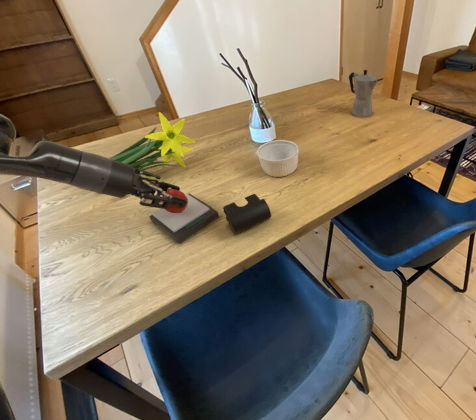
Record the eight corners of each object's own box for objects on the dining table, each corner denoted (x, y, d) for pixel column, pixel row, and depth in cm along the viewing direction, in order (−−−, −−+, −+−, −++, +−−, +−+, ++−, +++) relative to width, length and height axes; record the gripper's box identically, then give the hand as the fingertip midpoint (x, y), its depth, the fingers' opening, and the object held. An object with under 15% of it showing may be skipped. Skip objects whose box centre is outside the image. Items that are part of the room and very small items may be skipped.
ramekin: (270, 155, 98) (267, 137, 93) (305, 160, 95) (304, 142, 91) (253, 176, 88) (249, 157, 84) (292, 182, 86) (290, 163, 81)
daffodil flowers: (101, 172, 93) (196, 125, 97) (117, 208, 90) (214, 159, 94) (54, 151, 76) (171, 96, 80) (72, 195, 74) (192, 136, 78)
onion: (172, 223, 69) (159, 199, 64) (165, 211, 73) (152, 187, 67) (195, 213, 72) (184, 189, 67) (187, 202, 75) (176, 178, 70)
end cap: (237, 241, 68) (231, 221, 64) (226, 224, 72) (220, 205, 68) (273, 223, 73) (269, 204, 68) (261, 209, 77) (256, 190, 72)
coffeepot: (380, 114, 122) (385, 70, 110) (366, 120, 118) (370, 76, 106) (354, 104, 131) (357, 63, 119) (340, 110, 126) (342, 67, 114)
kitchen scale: (179, 243, 68) (175, 236, 66) (152, 221, 74) (147, 214, 72) (219, 216, 75) (216, 209, 73) (191, 198, 81) (188, 191, 79)
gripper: (114, 176, 52) (197, 199, 65) (106, 146, 61) (180, 172, 74) (97, 208, 54) (182, 224, 67) (92, 174, 62) (168, 194, 75)
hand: (181, 197), depth 70 cm, fingers open, 6 cm apart
